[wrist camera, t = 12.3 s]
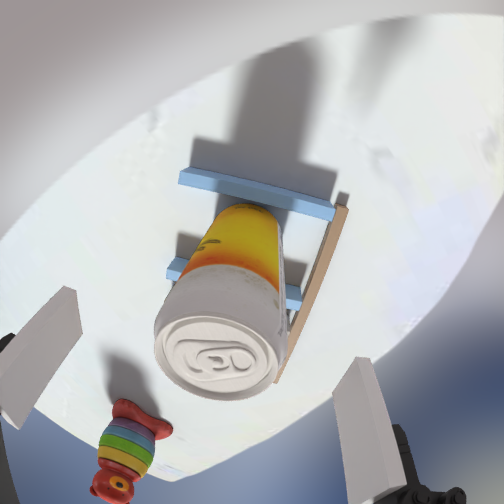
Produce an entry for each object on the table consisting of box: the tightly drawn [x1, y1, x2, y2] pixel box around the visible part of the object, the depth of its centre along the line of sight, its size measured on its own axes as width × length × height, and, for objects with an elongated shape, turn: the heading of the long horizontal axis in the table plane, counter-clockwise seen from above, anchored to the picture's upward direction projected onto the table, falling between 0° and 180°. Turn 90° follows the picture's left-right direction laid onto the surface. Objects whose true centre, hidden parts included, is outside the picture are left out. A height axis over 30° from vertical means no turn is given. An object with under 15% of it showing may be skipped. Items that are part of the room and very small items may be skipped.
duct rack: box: [164, 167, 349, 384], centre depth 26 cm, size 14×22×2 cm, turn 167°
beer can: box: [154, 203, 288, 401], centre depth 18 cm, size 6×6×15 cm
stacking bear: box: [90, 399, 173, 504], centre depth 32 cm, size 11×10×18 cm
